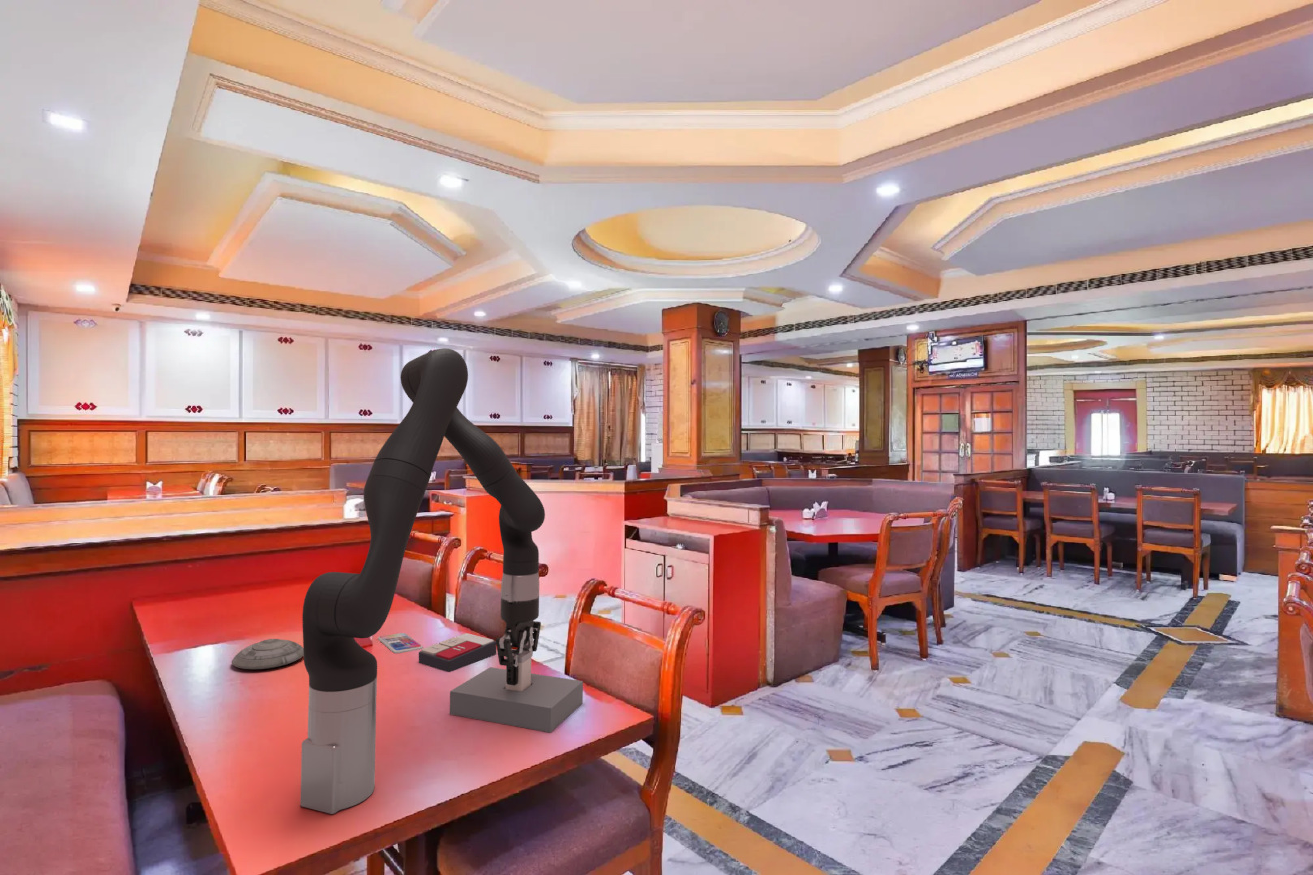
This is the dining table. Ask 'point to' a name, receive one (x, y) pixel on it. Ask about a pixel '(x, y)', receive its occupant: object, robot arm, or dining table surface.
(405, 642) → the smartphone
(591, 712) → the dining table surface
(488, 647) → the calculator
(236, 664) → the flying saucer
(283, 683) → the dining table surface
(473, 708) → the header
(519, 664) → the pale square peg
